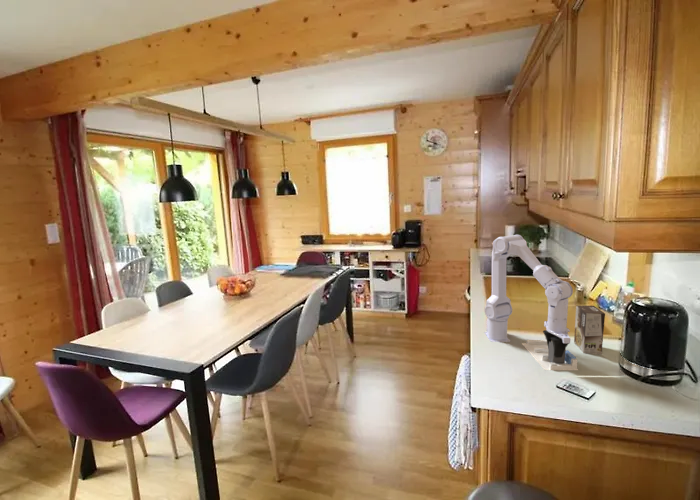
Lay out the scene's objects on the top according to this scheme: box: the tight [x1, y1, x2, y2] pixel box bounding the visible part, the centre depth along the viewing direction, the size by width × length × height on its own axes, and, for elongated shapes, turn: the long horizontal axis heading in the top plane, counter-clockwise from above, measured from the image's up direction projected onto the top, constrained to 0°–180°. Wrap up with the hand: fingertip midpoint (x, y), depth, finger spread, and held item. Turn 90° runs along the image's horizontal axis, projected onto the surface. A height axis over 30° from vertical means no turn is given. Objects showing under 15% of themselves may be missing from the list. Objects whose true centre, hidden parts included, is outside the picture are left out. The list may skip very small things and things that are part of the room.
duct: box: [521, 339, 579, 371], centre depth 132 cm, size 21×11×4 cm, turn 175°
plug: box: [548, 341, 567, 364], centre depth 125 cm, size 4×4×7 cm
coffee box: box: [573, 305, 606, 355], centre depth 135 cm, size 9×6×16 cm
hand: (555, 353), depth 125 cm, fingers closed on plug, 4 cm apart
